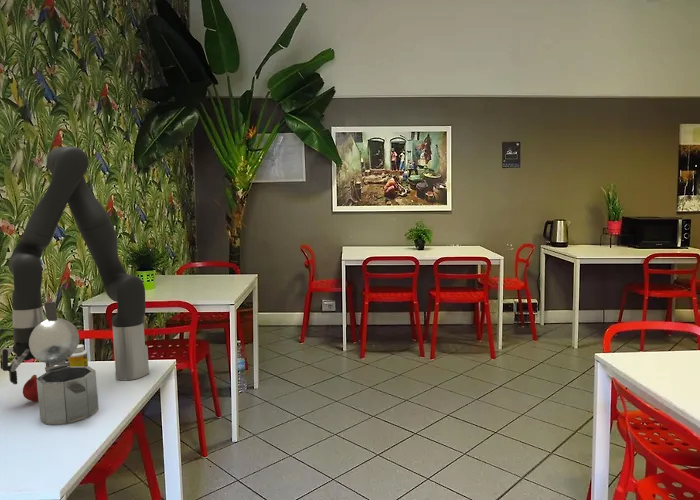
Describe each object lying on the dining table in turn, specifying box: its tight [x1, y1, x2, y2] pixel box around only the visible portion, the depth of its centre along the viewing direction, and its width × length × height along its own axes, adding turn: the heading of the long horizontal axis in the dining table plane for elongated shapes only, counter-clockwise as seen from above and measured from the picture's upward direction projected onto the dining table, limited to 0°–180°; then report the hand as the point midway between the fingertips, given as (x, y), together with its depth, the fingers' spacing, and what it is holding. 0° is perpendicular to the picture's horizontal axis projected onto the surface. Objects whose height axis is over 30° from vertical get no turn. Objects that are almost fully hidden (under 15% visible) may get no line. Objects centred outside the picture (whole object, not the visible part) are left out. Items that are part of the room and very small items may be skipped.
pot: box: [37, 365, 99, 426], centre depth 140 cm, size 14×18×11 cm
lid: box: [29, 301, 80, 372], centre depth 146 cm, size 12×19×2 cm
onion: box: [22, 374, 39, 403], centre depth 150 cm, size 6×6×8 cm
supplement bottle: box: [67, 344, 89, 367], centre depth 170 cm, size 6×6×10 cm
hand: (32, 379), depth 149 cm, fingers open, 8 cm apart
